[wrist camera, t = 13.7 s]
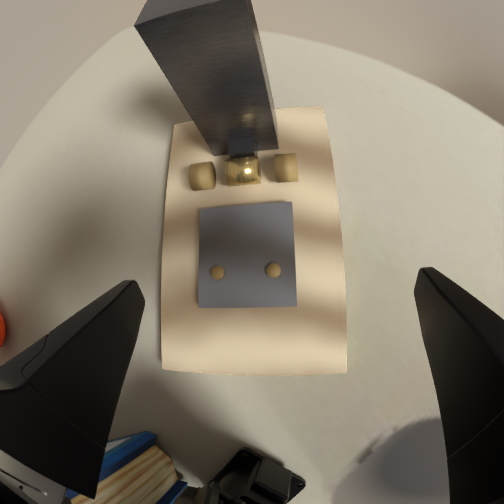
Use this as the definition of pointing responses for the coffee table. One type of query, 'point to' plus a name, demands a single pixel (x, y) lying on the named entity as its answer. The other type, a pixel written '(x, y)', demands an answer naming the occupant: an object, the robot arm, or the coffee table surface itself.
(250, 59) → the grey block
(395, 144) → the coffee table surface
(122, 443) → the book
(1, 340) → the clementine
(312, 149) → the board
